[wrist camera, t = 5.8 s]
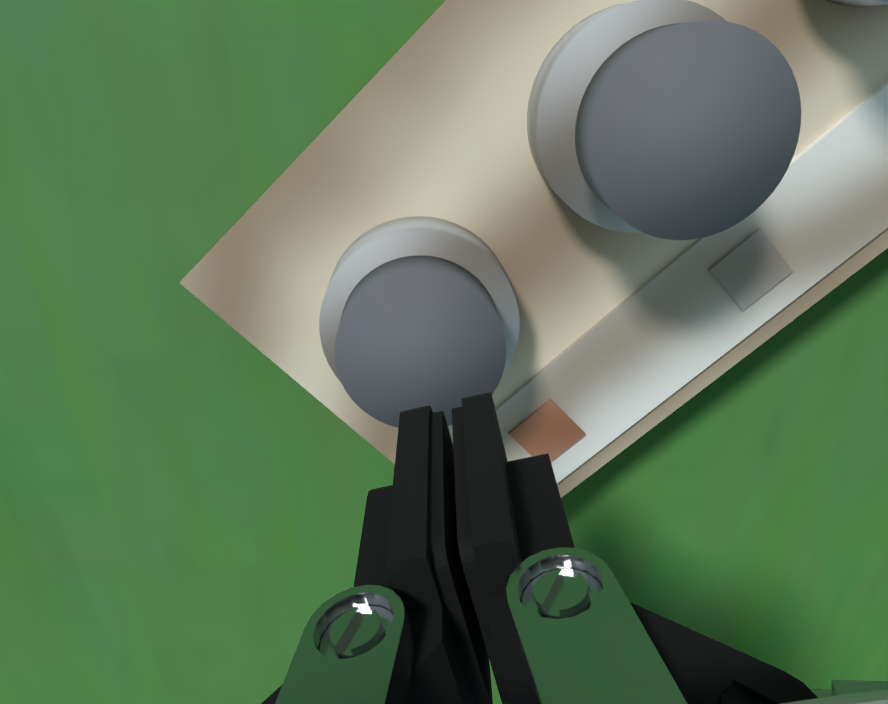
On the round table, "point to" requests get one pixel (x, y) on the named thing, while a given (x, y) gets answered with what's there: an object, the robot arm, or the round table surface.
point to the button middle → (688, 128)
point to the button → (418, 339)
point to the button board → (560, 218)
